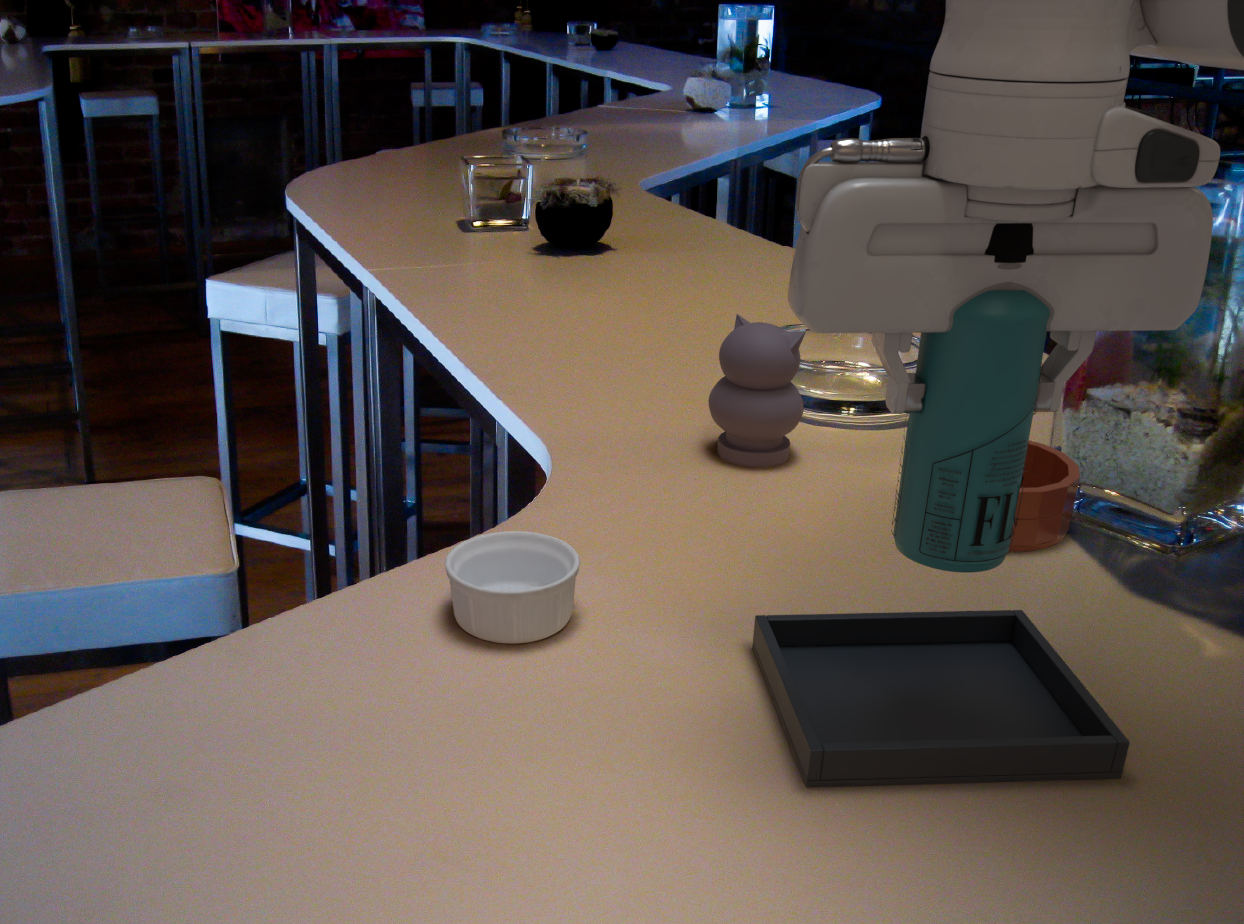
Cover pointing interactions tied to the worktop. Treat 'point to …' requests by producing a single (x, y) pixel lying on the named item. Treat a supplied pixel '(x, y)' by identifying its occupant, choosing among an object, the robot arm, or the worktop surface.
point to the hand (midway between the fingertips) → (971, 409)
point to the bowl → (1044, 498)
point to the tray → (931, 700)
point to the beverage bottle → (973, 424)
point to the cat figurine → (757, 394)
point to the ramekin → (512, 585)
